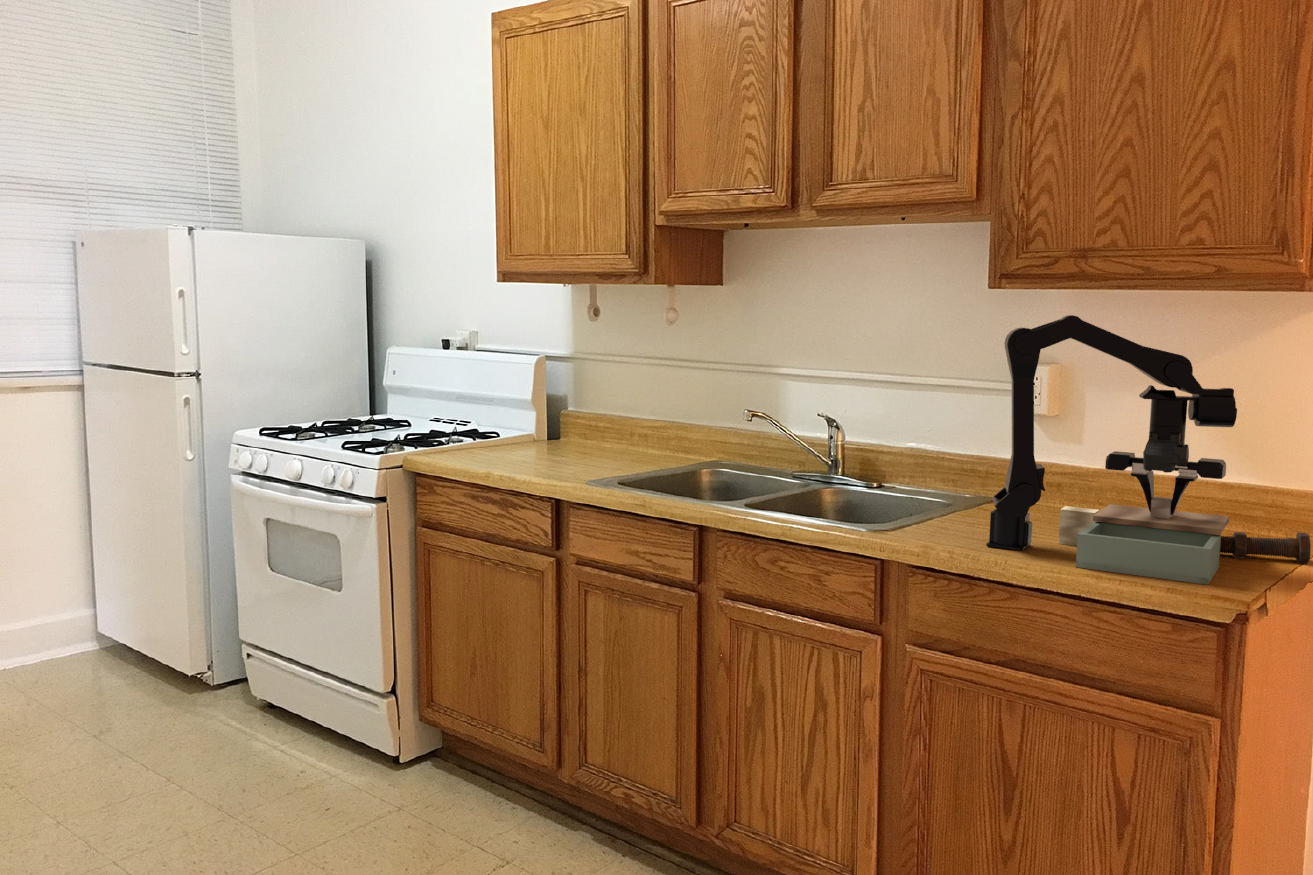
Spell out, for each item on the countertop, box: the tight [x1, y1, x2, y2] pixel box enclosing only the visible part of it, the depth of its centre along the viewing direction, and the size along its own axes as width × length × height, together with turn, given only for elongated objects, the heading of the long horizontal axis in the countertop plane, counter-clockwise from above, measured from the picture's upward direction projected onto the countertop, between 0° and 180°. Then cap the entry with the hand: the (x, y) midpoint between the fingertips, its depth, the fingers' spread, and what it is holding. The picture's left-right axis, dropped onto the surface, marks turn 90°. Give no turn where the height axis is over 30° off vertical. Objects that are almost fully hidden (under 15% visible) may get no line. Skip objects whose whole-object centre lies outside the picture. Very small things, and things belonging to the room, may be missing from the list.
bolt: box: [1220, 531, 1312, 565], centre depth 191 cm, size 6×5×15 cm
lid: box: [1093, 496, 1230, 535], centre depth 192 cm, size 20×14×4 cm
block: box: [1058, 506, 1100, 547], centre depth 201 cm, size 6×4×6 cm, turn 56°
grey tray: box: [1075, 521, 1222, 585], centre depth 185 cm, size 20×20×6 cm
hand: (1161, 513), depth 192 cm, fingers closed on lid, 3 cm apart
